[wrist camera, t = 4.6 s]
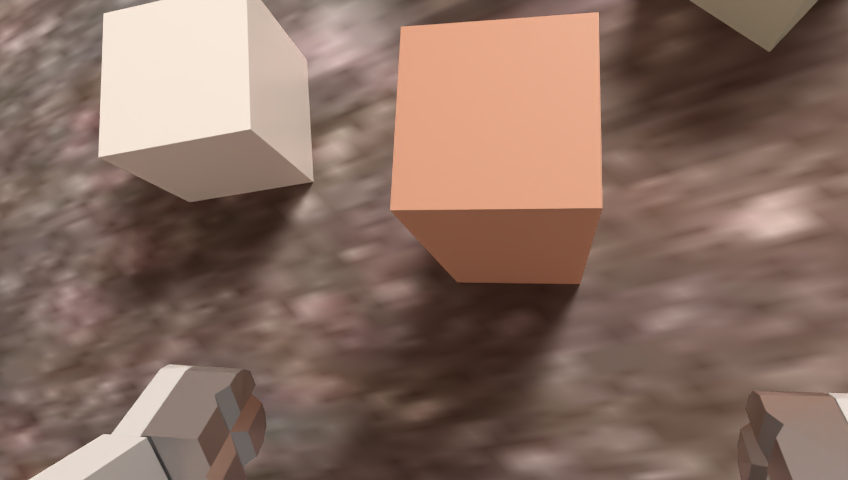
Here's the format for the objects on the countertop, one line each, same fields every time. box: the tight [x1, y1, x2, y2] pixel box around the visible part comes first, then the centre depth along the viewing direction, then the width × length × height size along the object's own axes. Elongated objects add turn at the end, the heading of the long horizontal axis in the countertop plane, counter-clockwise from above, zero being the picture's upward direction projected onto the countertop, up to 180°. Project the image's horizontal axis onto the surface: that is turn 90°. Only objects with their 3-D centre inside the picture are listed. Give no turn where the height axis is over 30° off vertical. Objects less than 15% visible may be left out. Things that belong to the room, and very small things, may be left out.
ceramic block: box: [99, 0, 313, 202], centre depth 21 cm, size 5×5×5 cm
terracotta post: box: [390, 12, 602, 284], centre depth 16 cm, size 4×4×9 cm
